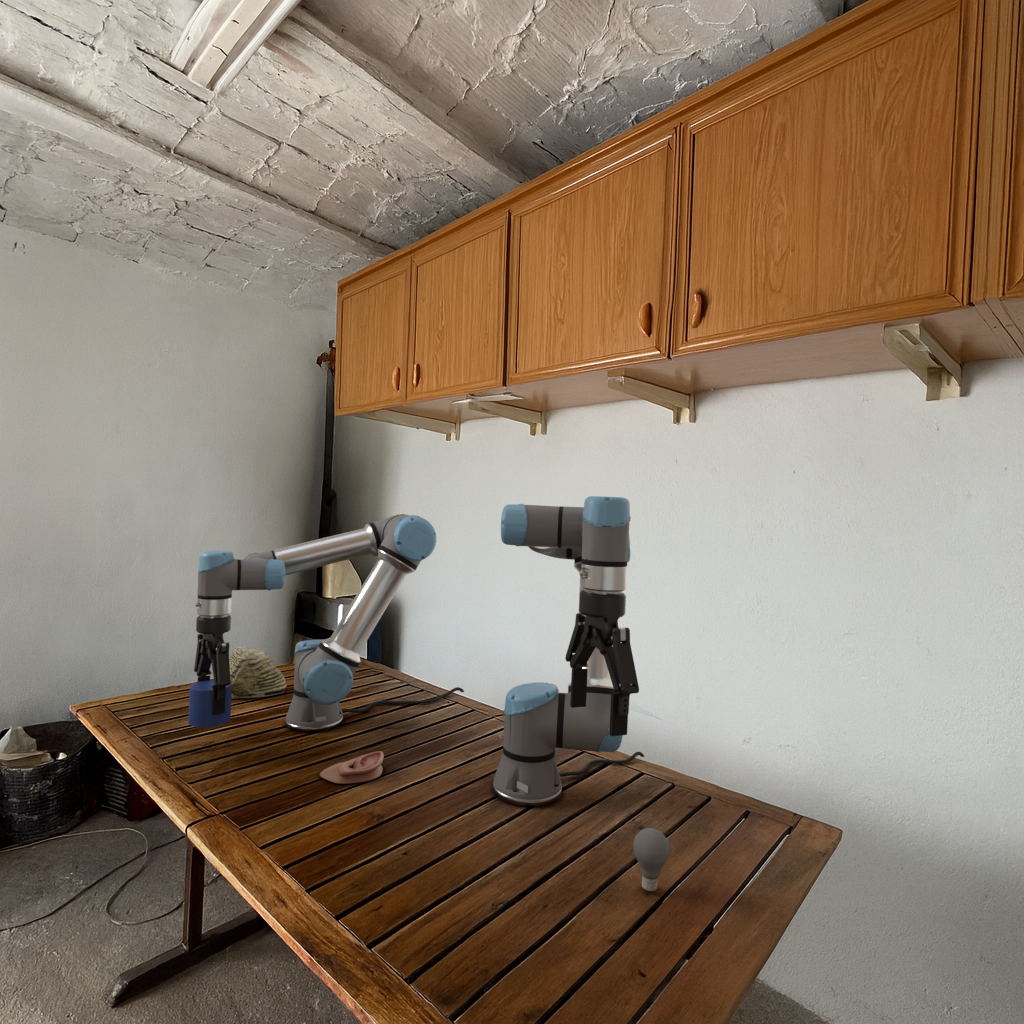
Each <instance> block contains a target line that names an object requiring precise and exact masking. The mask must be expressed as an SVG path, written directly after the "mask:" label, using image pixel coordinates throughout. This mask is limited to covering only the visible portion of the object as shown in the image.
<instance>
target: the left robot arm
mask: <svg viewBox="0 0 1024 1024" xmlns="http://www.w3.org/2000/svg"><path fill="white" fill-rule="evenodd" d="M436 546H437V533H436V530H435V528H434V526H433V524H432V523H431V522H430V521H428V520H427V519H425V518H423V517H421V516H419V515H415V514H411V515H410V514H404V513H400V514H399V513H398V514H395V515H392V516H389V517H386V518H382V519H380V520H377V521H372V522H369V523H366V524H365V525H364V527H363V528H359V529H354V530H351V531H347V532H343V533H339V534H338V533H337V534H334V535H330V536H326V537H322V538H318V539H313V540H308V541H304V542H300V543H297V544H293V545H289V546H284V547H280V548H276V549H273V550H267V551H264V552H253V553H250V554H248V555H246V556H245V557H244V558H243V559H238V558H235V556H234V552H232V551H231V550H206V551H202V552H201V553H200V555H199V558H198V569H197V602H195V603H194V606H195V607H196V614H197V615H198V616H197V617H196V621H195V622H196V623H195V631H196V632H197V633H198V634H197V636H196V637H197V644H196V651H195V652H196V654H195V658H194V659H195V660H194V665H193V666H194V668H193V672H194V673H196V676H197V681H196V682H200V681H205V680H211V675H212V676H213V680H214V684H215V685H213V686H211V687H212V688H213V694H212V715H217V714H222V713H225V694H226V686H227V685H230V665H229V659H230V642H227V641H226V642H225V639H224V634H225V633H229V632H230V631H231V628H232V627H231V626H232V617H231V615H230V614H231V613H232V609H233V594H232V593H233V591H268V592H269V591H272V590H273V591H274V590H282V589H284V587H285V582H286V576H289V575H293V574H296V573H300V572H304V571H310V570H312V569H316V568H321V567H324V566H328V565H333V564H336V563H340V562H344V561H348V560H352V559H356V558H360V557H364V556H368V555H371V556H372V557H377V556H378V559H377V561H376V562H375V563H374V565H373V567H372V569H371V570H370V572H369V574H368V575H367V577H366V579H365V580H364V582H363V584H362V585H361V587H360V589H359V590H358V592H357V593H356V594H355V596H354V598H353V600H352V602H351V603H350V604H349V606H348V608H347V610H346V611H345V613H344V614H343V616H342V618H341V620H340V621H339V623H338V624H337V625H336V627H335V629H334V631H333V633H332V634H331V636H330V637H329V638H325V639H307V640H301V641H299V642H297V643H296V644H295V648H294V649H295V650H294V672H293V673H294V674H293V675H294V676H293V695H292V696H293V697H292V699H291V702H290V704H289V708H288V711H287V713H286V715H285V726H286V728H287V729H289V730H291V731H294V732H295V731H296V732H301V733H316V732H325V731H329V730H332V729H335V728H337V727H339V726H340V725H342V723H343V722H344V714H343V713H355V714H357V713H358V714H360V713H364V712H367V711H369V709H371V708H372V707H374V706H380V705H420V704H421V705H423V704H424V705H425V704H430V703H434V702H437V701H440V700H441V699H443V698H446V697H449V696H450V695H451V694H453V693H455V692H456V691H457V692H458V691H459V692H460V693H464V692H465V690H464V689H463V688H462V687H458V686H457V687H454V688H452V689H450V690H449V691H446V692H444V693H442V694H441V695H438V696H436V697H434V698H429V699H422V700H421V699H420V700H378V701H373V702H371V703H369V704H368V705H366V706H365V707H363V708H342V706H341V701H342V700H344V699H345V698H346V697H347V696H348V695H349V693H351V690H352V688H353V684H354V674H355V673H356V671H357V669H358V668H359V666H360V665H361V657H360V653H361V652H362V650H363V648H364V646H365V645H366V643H367V641H368V640H369V639H370V636H371V635H372V633H373V632H374V630H375V628H376V626H377V625H378V624H379V621H380V620H381V618H382V616H383V615H384V613H385V611H386V609H387V608H388V607H389V604H390V603H391V601H392V599H394V596H395V595H396V593H397V591H398V589H399V588H400V586H401V584H402V583H403V581H404V579H405V578H406V576H407V575H408V574H409V575H410V574H412V573H415V572H416V570H417V568H418V567H419V566H420V564H421V562H422V561H423V560H426V559H427V558H428V557H429V556H431V555H432V553H433V552H434V550H435V548H436ZM211 669H212V671H211Z"/></svg>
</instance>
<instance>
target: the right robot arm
mask: <svg viewBox="0 0 1024 1024" xmlns="http://www.w3.org/2000/svg"><path fill="white" fill-rule="evenodd" d="M629 500H630V499H629ZM629 500H628V498H627V497H620V496H602V495H601V496H599V495H596V496H595V495H590V496H589V495H588V496H587V497H586V498H585V499H584V501H583V502H584V503H583V506H556V505H538V504H524V503H518V504H516V503H515V504H506V505H504V507H503V509H502V511H501V516H500V517H501V518H500V539H501V542H502V543H503V544H504V545H507V546H515V547H528V549H530V550H531V551H532V552H534V553H538V554H540V555H544V556H547V557H551V558H555V559H561V560H562V559H563V560H571V561H574V563H573V564H574V566H573V568H574V569H575V570H576V571H577V572H578V573H579V595H578V612H577V613H576V614H575V620H574V627H573V630H572V634H571V637H570V640H569V643H568V647H567V650H566V654H565V658H564V659H565V661H566V662H567V663H568V662H569V667H570V668H571V678H570V683H569V684H568V685H567V692H560V690H559V688H558V685H556V684H554V683H549V682H543V681H541V682H539V681H538V682H537V681H536V682H527V683H523V684H518V685H516V686H514V687H512V688H510V690H509V691H507V692H506V695H505V702H504V709H503V714H504V718H503V719H504V720H503V738H502V739H503V741H502V755H501V758H500V760H499V764H498V766H497V769H496V771H495V774H494V777H493V782H492V791H493V793H494V795H495V796H496V797H497V798H498V799H499V800H501V801H502V802H505V803H508V804H512V805H515V806H519V807H520V806H521V807H543V806H547V805H550V804H552V803H555V802H557V801H558V800H559V799H560V798H561V796H562V793H563V792H562V790H563V785H562V784H563V783H562V779H561V778H563V777H570V776H580V775H583V774H585V773H586V772H587V771H588V770H589V768H590V767H591V766H593V765H596V764H597V765H598V764H611V765H624V764H628V763H630V762H632V761H633V760H634V759H635V758H637V757H638V756H640V757H641V758H645V754H644V753H643V752H641V751H636V752H634V753H633V754H632V755H630V756H629V757H628V758H626V759H622V760H621V759H620V760H619V759H618V760H617V759H593V760H591V761H589V762H587V763H586V764H585V766H584V767H583V769H580V770H575V771H565V772H560V771H559V768H558V764H557V761H556V749H565V750H576V751H587V752H596V753H614V752H617V751H618V750H619V749H620V747H621V744H622V741H623V736H627V735H628V727H629V726H628V723H629V713H630V696H631V695H632V694H638V693H639V692H640V686H639V682H638V676H637V671H636V666H635V665H636V664H635V661H634V656H633V652H632V651H633V650H632V646H631V629H630V628H629V627H619V619H620V618H622V617H624V616H625V615H626V605H627V595H626V594H625V593H624V591H626V590H627V587H628V563H629V562H630V561H631V538H630V522H631V517H632V516H631V503H630V501H629Z"/></svg>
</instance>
